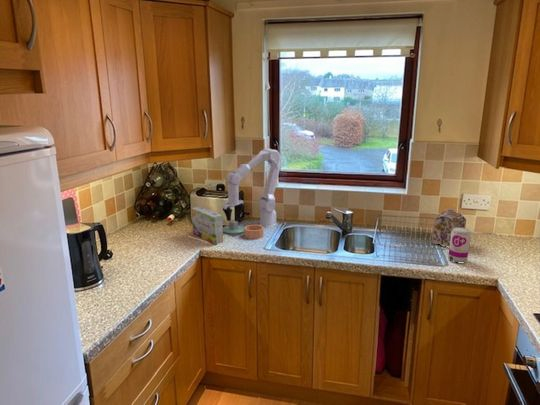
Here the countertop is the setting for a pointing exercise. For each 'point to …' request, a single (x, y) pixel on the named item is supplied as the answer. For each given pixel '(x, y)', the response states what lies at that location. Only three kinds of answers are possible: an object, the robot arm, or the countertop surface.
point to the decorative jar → (446, 226)
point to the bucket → (254, 231)
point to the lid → (233, 228)
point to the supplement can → (459, 245)
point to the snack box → (207, 225)
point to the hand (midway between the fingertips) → (233, 219)
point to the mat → (233, 234)
